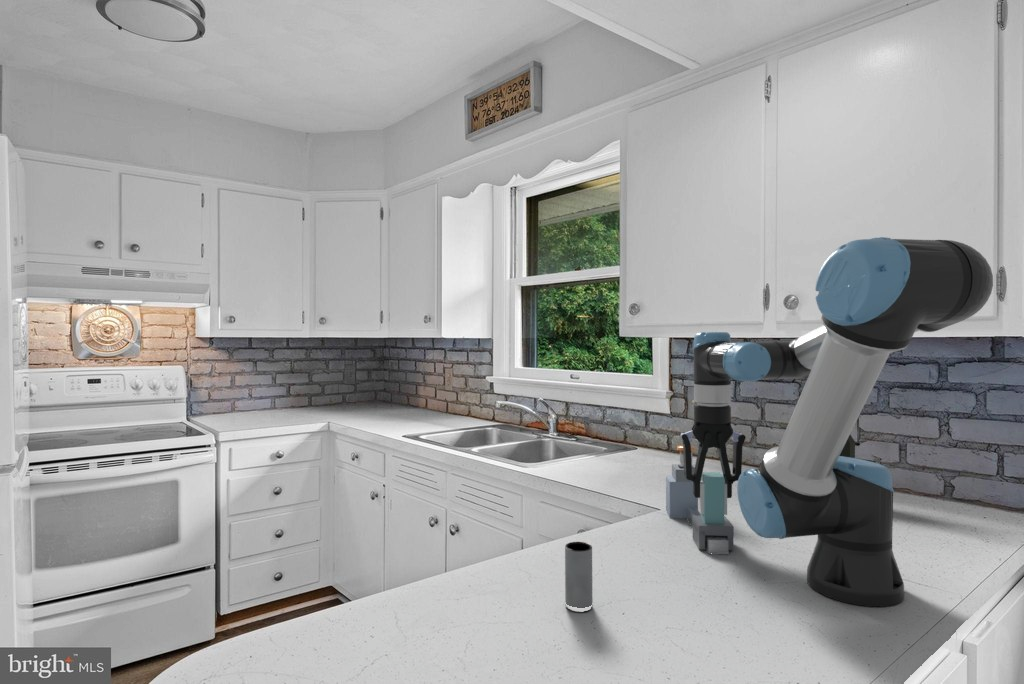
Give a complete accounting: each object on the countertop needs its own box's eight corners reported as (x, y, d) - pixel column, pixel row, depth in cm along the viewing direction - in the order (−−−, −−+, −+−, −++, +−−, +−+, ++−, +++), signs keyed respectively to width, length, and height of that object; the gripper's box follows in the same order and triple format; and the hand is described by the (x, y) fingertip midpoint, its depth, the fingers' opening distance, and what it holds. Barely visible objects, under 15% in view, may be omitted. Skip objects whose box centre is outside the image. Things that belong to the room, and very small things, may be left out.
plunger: (696, 480, 150) (696, 448, 150) (678, 479, 151) (678, 448, 150) (693, 475, 155) (693, 445, 154) (675, 475, 155) (675, 444, 155)
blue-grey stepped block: (707, 518, 149) (707, 470, 149) (669, 518, 150) (669, 469, 150) (702, 511, 155) (701, 464, 155) (666, 510, 156) (665, 464, 156)
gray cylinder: (575, 598, 106) (574, 539, 106) (597, 605, 103) (597, 545, 103) (560, 607, 102) (559, 547, 102) (583, 615, 99) (582, 553, 99)
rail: (728, 554, 126) (728, 540, 125) (708, 554, 126) (708, 539, 126) (704, 519, 148) (704, 507, 148) (687, 519, 149) (687, 507, 149)
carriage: (733, 550, 127) (733, 478, 127) (699, 549, 128) (699, 478, 128) (725, 538, 134) (724, 470, 134) (692, 537, 135) (692, 470, 135)
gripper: (748, 401, 133) (748, 508, 134) (668, 401, 135) (668, 506, 135) (758, 406, 126) (758, 518, 126) (674, 406, 128) (674, 517, 128)
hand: (712, 512), depth 131 cm, fingers closed on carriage, 4 cm apart
